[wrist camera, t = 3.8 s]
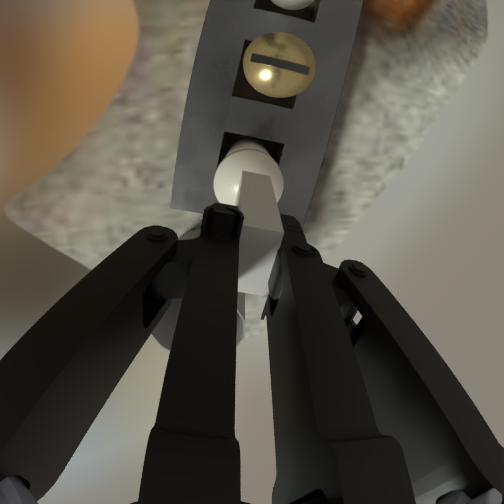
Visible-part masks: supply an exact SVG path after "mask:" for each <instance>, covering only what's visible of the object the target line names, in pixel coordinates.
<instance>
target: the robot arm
mask: <svg viewBox="0 0 504 504" xmlns="http://www.w3.org/2000/svg"><path fill="white" fill-rule="evenodd" d="M267 287H269V294H268V297H267V300H266V304H265V307H264V310H263V313H262V316H261V320H264V317H265V315H266V317H267V330H268V345H269V359H270V374H271V389H272V403H273V420H274V436H275V450H276V469H277V475H276V481H275V484H274V487H273V492H272V504H504V448H503V447H502V446H501V445H500V444H499V443H498V441H497V439H496V438H495V436H494V434H493V433H492V431H491V430H490V428H489V426H488V425H487V423H486V422H485V420H484V418H483V417H482V415H481V414H480V412H479V411H478V409H477V407H476V406H475V405H474V403H473V401H472V400H471V399H470V397H469V395H468V394H467V393H466V391H465V390H464V388H463V387H462V385H461V384H460V382H459V381H458V380H457V378H456V377H455V375H454V374H453V372H452V371H451V370H450V368H449V367H448V365H447V364H446V363H445V362H444V360H443V359H442V357H441V356H440V355H439V353H438V352H437V351H436V349H435V348H434V346H433V345H432V344H431V343H430V341H429V340H428V339H427V337H426V336H425V335H424V333H423V332H422V331H421V330H420V328H419V327H418V326H417V324H416V323H415V322H414V321H413V319H412V318H411V317H410V316H409V314H408V313H407V312H406V311H405V309H404V308H403V307H402V306H401V305H400V303H399V302H398V301H397V300H396V299H395V297H394V296H393V295H392V294H391V292H390V291H389V290H388V289H387V288H386V287H385V285H384V284H383V283H382V282H381V281H380V280H379V278H378V277H377V276H376V275H375V274H374V273H373V271H372V270H371V269H369V268H368V267H367V266H366V265H364V264H363V263H361V262H358V261H356V260H355V261H354V260H344V261H343V262H341V265H340V267H339V269H338V268H336V267H333V266H330V265H328V264H325V263H323V261H322V258H321V255H320V253H319V252H318V250H317V249H316V248H314V247H313V246H311V245H309V244H307V241H306V238H305V236H304V234H303V230H302V227H301V224H300V222H299V221H298V220H297V219H296V218H295V217H294V216H289V215H284V214H280V213H279V209H278V205H277V201H276V197H275V193H274V189H273V185H272V181H271V177H270V176H268V175H263V174H258V173H253V172H248V171H243V170H242V175H241V179H240V184H239V188H238V193H237V198H236V203H235V206H234V205H228V204H223V203H217V202H215V203H214V204H212V205H210V206H207V207H206V208H205V209H204V213H203V220H202V226H201V232H200V236H198V237H196V238H194V239H188V240H178V237H177V234H176V233H175V232H174V231H173V230H171V229H169V228H167V227H162V226H158V225H157V226H156V225H155V226H149V227H145V228H143V229H141V230H139V231H138V232H137V233H136V234H134V235H133V236H132V237H131V238H129V239H128V240H127V241H126V242H125V243H123V244H122V245H121V246H120V247H119V248H117V249H116V250H115V251H114V252H113V253H111V254H110V255H109V256H108V257H107V258H105V259H104V260H103V261H102V262H101V263H100V264H98V265H97V266H96V267H95V268H94V269H93V270H92V271H90V272H89V273H88V274H87V275H86V276H85V277H84V278H83V279H81V280H80V281H79V282H78V283H77V284H76V285H75V286H74V287H73V288H72V289H70V291H68V292H67V293H66V294H65V295H64V296H63V297H62V298H61V299H60V300H59V301H58V302H57V303H56V304H54V305H53V306H52V307H51V308H50V309H49V310H48V311H47V312H46V313H45V314H44V315H43V316H42V317H41V318H40V319H39V320H38V321H37V322H36V323H35V324H34V325H33V326H32V327H31V328H30V329H29V330H28V331H27V332H26V334H24V335H23V336H22V337H21V338H20V340H19V341H18V342H17V343H16V344H15V345H14V346H13V347H12V348H11V349H10V350H9V351H8V352H7V353H6V354H5V356H4V357H3V358H2V359H1V360H0V504H38V503H37V501H38V500H39V499H40V498H42V497H43V496H44V495H45V494H46V493H47V492H48V491H49V489H50V488H51V487H52V486H53V485H54V484H55V482H56V481H57V479H58V478H59V476H60V475H61V473H62V472H63V471H64V469H65V467H66V466H67V464H68V462H69V461H70V459H71V457H72V456H73V454H74V452H75V451H76V449H77V447H78V445H79V444H80V442H81V441H82V439H83V437H84V436H85V434H86V433H87V431H88V429H89V428H90V426H91V424H92V423H93V421H94V420H95V418H96V417H97V415H98V413H99V412H100V410H101V409H102V407H103V405H104V404H105V402H106V401H107V399H108V398H109V396H110V395H111V393H112V392H113V390H114V388H115V387H116V385H117V384H118V382H119V381H120V379H121V378H122V376H123V375H124V373H125V372H126V370H127V369H128V367H129V365H130V364H131V363H132V361H133V360H134V358H135V357H136V355H137V354H138V352H139V351H140V349H141V347H142V346H143V345H144V343H145V342H146V340H147V339H148V337H149V336H150V334H151V333H152V331H153V330H154V328H155V327H156V326H157V324H158V323H159V321H160V320H161V318H162V317H163V315H164V314H165V313H166V311H167V310H168V308H169V307H170V305H171V303H172V300H173V299H180V298H183V299H182V303H181V307H180V312H179V316H178V320H177V324H176V328H175V332H174V337H173V341H172V345H171V350H170V354H169V359H168V363H167V368H166V373H165V377H164V382H163V387H162V392H161V398H160V402H159V407H158V412H157V417H156V422H155V425H154V427H153V428H152V429H151V432H150V435H149V439H148V443H147V448H146V454H145V461H144V466H143V472H142V478H141V485H140V492H139V499H138V501H137V502H134V503H131V504H250V503H245V502H242V501H241V500H240V499H241V496H240V495H241V494H240V447H239V442H238V441H237V439H236V438H235V429H234V426H235V375H236V335H237V300H238V292H243V293H249V294H256V295H262V296H265V294H266V290H267ZM357 311H359V312H360V314H361V315H362V318H361V320H360V321H359V323H358V324H357V325H356V324H355V322H354V321H353V318H354V316H355V315H356V313H357Z"/></svg>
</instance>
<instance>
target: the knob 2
mask: <svg viewBox="0 0 504 504" xmlns="http://www.w3.org/2000/svg"><path fill="white" fill-rule="evenodd" d="M271 1H272V2H273V3H274V4H275V5H277V6H279V7H281V8H284V9H288V10H300V9H303V8H306V7H308V6H309V5H310V4H312V2H313V1H314V0H271Z"/></svg>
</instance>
